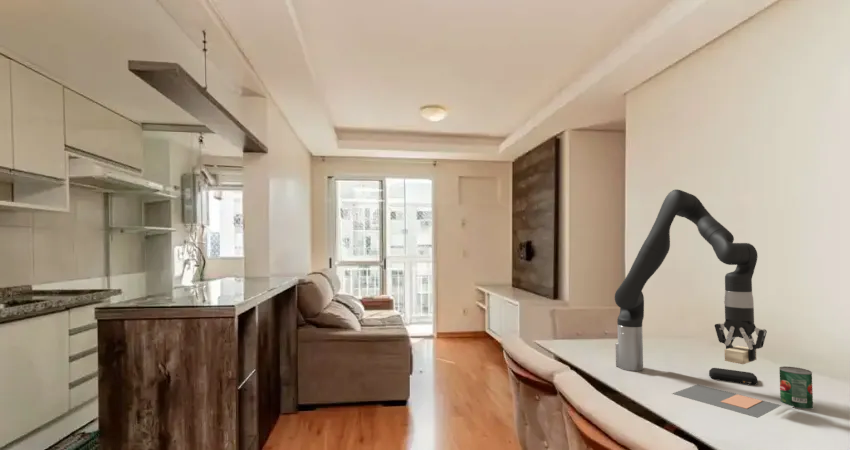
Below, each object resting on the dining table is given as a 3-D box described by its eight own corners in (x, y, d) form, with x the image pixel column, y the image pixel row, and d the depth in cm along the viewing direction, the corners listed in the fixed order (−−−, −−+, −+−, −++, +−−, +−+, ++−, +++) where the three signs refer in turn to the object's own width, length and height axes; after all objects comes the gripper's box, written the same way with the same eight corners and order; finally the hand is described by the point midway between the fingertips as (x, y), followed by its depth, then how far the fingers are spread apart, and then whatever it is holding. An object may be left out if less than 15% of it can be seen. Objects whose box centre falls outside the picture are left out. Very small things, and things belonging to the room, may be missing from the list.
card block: (738, 356, 143) (738, 345, 143) (756, 359, 139) (756, 348, 139) (724, 360, 137) (724, 349, 137) (743, 364, 133) (742, 352, 133)
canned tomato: (773, 400, 140) (772, 366, 141) (798, 400, 140) (797, 366, 141) (793, 409, 132) (792, 373, 133) (820, 410, 132) (819, 373, 133)
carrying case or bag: (709, 380, 162) (758, 388, 153) (708, 372, 162) (758, 379, 154) (709, 373, 170) (756, 380, 162) (709, 366, 171) (756, 372, 162)
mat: (671, 395, 145) (671, 393, 145) (698, 385, 155) (698, 383, 155) (757, 419, 125) (757, 416, 125) (781, 407, 135) (781, 404, 135)
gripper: (770, 307, 135) (772, 362, 134) (719, 302, 147) (720, 352, 146) (761, 309, 131) (763, 366, 130) (708, 303, 143) (710, 356, 142)
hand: (740, 358), depth 138 cm, fingers closed on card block, 5 cm apart
